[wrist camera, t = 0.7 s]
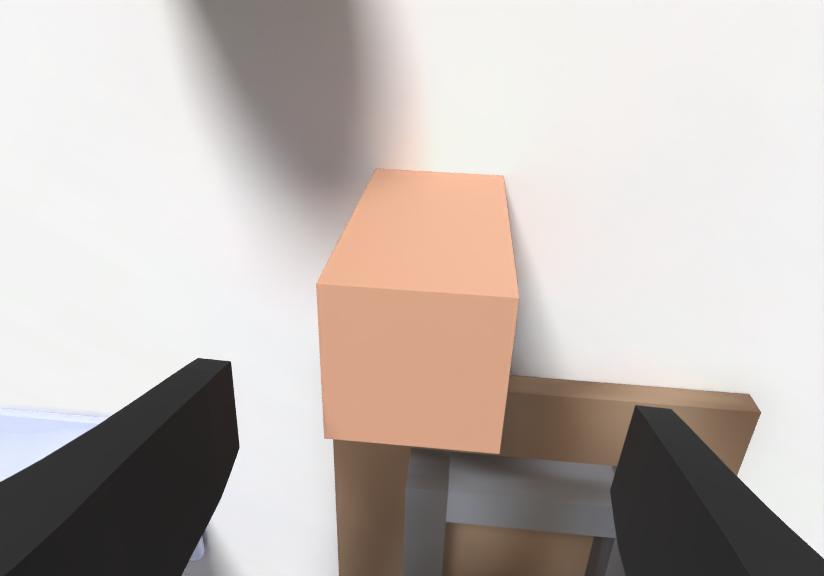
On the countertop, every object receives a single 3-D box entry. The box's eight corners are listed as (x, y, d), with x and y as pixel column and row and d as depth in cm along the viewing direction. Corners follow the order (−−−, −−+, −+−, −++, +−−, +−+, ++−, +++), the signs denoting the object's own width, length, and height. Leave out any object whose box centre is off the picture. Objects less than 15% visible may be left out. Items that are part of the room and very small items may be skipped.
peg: (376, 281, 21) (324, 438, 14) (375, 168, 19) (316, 283, 12) (491, 289, 21) (499, 454, 13) (503, 175, 19) (519, 298, 12)
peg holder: (345, 613, 30) (332, 676, 27) (336, 361, 23) (317, 413, 20) (657, 647, 28) (676, 716, 26) (749, 394, 21) (787, 453, 19)
